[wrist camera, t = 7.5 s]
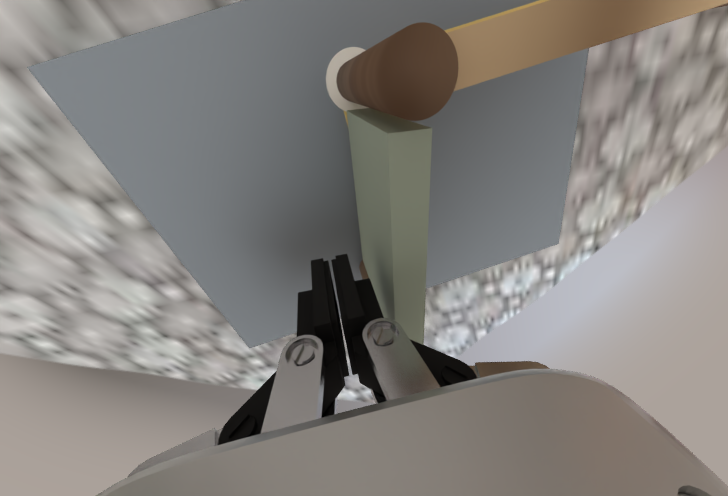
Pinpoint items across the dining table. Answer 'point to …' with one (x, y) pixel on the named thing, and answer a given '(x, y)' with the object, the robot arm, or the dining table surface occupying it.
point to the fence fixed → (491, 50)
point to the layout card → (310, 145)
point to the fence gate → (393, 211)
